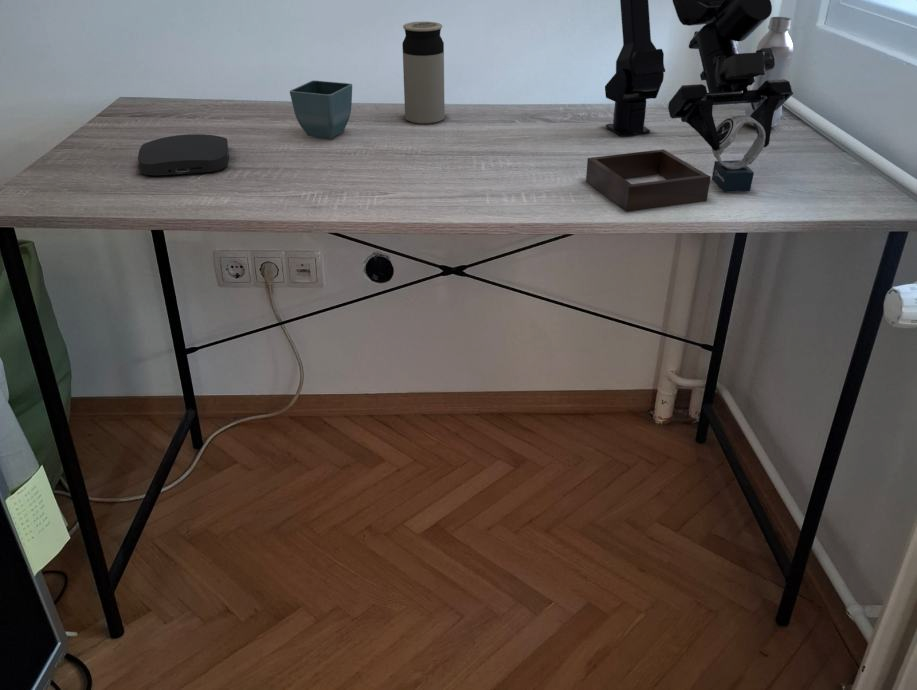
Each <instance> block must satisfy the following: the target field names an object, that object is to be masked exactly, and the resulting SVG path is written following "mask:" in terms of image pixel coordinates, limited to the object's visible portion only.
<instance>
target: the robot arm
mask: <svg viewBox="0 0 917 690" xmlns="http://www.w3.org/2000/svg"><path fill="white" fill-rule="evenodd" d="M619 2H620V3H619V4H620V5H619V6H620V16H621V17H620V18H621V30H622V47H621V49H620V52H619V54H618V56H617V58H616V61H615V73H614V75H613V76H612V77H611V78H610V79H609V80H608V82H607V83H606V85H605V86H604V91H605V92H604V93H605V94H604V95H605V98H606V99H608V100H609V101H612V102H614V109H613V111H614V112H613V119H612V123H606V124H605V128H607V129H608V130H609V131H611V132H613V133H615V134H616V135H618V136H621V137H624V136H633V135H642V134H650V133H651V129H649V128H648V127H646V126H645V119H646V113H647V109H646V108H647V100H650V99H651V100H652V99H657V97H658V95H659V92H660V89H661V87H662V84H663V81H664V79H665V78H664V77H665V73H666V68H665V63H664V57H665V56H664V55H665V53H664V50H663V48H657V47H656V46H655V45H654V43H653V42H652V36H651V34H652V33H651V20H650V5H649V4H650V3H649V0H619ZM671 2H672V5H673V7H674V10H675V13H676V16H677V18H678V21H679V22H680V23H681V24H682V25H683V26H690V27H691V26H700V25H701V26H702V25H703V26H702V27H701V28H700V30H698V31H697V30H696V31H694V33H693V36H692V38H691V39H690V41H689V43H688V48H689V49H690V50H698V53H699V56H700V62H701V66H702V72H700V74H699V77H700V80H701V81H705V83H706V85H705V84H701V83H700V84H697V83H696V84H682V85H681V86H680V87H679V89H678V90H677V91H676V92H675V93H674V95H673V96H672V97H671V99H670V100H669V101H668V106H667V109H668V113H669V117H670V118H671V119H680V120H681V122H682V123H686V124H687V125H689V126H690V127H691V129H693V130H694V131H696V132H697V134H699V136H701V137H702V139H703V140H704V141H705V142H706V143H707V144H708V145H709V147H710V148H711V150H712V149H713V150H714V151H717V150H718V149H719V148H720V146H719V138H718V134H717V131H716V128H717V127H716V124H715V119H714V115H713V109H714V106H722V105H739V104H740V105H741V104H748V103H751V106H752V109H753V110H755V111H754V112H753V113H752V114H751V115H750V116H751V118H753V119H754V120H756V121H757V122H758V123H760V124H761V125H762V126H763V128H764V130H765V135H766V138H765V145H764V147H763V148H767V147H768V146H769V145H770V140H771V133H772V132H771V131H772V127H771V126H772V119H773V115H774V111H775V110H777V109H778V108H779V107H780V106H781V105H782V106H783V104H785V102H787V101H788V100H789V99H790V98H791V97H792V95H794V91H793V86H792V83H791V82H790V81H789V80H787V79H786V78H785V79H784V80H767V81H765V82H764V83H763V84H762V85H761V86H760V87H759V88H758V89H757V90H752V89H748V87H749V86H752V85H754V82H755V79H754V78H755V77H756V76H758V75H765V71H768V70H770V69H773V68H774V66H775V56H774V54H773V51H772V48H761V49H760V50H757V51H756V50H755V52H742V53H739V50H738V49H739V48H738V44H737V42H743V41H745V40H746V39H747V38H749V36H750V35H752V34H753V33H754V32H755V31H756V30H757V29H758V28H759V27H760V26H761V25H763V23H764V22H765V21H766V20H767V19H769V17H770V16H771V14H772V12H773V5H772V1H771V0H672V1H671ZM753 124H754V126H753V127H754V129H755V132H756V134H757V135H758V134H759V131H758V127H757V125H756V124H755V123H753Z"/></svg>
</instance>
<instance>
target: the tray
mask: <svg viewBox="0 0 917 690" xmlns="http://www.w3.org/2000/svg"><path fill="white" fill-rule="evenodd" d="M586 161H587V162H586V174H585V182H586V183H587V184H588V185H590V186H591V187H593V188H594V189H595V190H596V191H598V192H599V193H600V194H601V195H603V196H604V197H606V198H607V199H608V200H609V201H611V202H612V203H614V204H615V205H616V206H617V207H619V208H620V209H622V210H623V211H624V212H625V213H630V212H637V211H645V210H651V209H653V210H654V209H661V208H667V207H675V206H681V205H689V204H695V203H705V202H707V201H708V196H709V190H710V185H711V179H712V176H711V175H709V174H707V173H706V172H704V171H702V170H700V169H698V168H697V167H695V166H693V165H692V164H690V163H688V162H686V161H684V159H681V158H680V157H678V156H676V155H674V154H672V153H671V152H669V151H668V150H666V149H654V150H647V151H637V152H636V151H635V152H627V153H619V154H611V155H602V156H593V157H587V160H586ZM650 176H660V177H661V178H663V179H661V180H654V181H653V180H652V181H645V182H638V183H637V182H636V183H631V182H629V181H628V180H627V179H635V178H642V177H650Z"/></svg>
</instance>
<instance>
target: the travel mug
mask: <svg viewBox="0 0 917 690" xmlns="http://www.w3.org/2000/svg"><path fill="white" fill-rule="evenodd" d="M402 28H403V30H404V33H405V35H404V36H405V37H404V39H403V41H402V64H403V65H402V69H403V71H402V72H403V73H402V74H403V96H404V97H403V98H404V99H403V101H404V118H405V120H406V121H408V122H410V123H413V124H419V125H430V124H436V123H439V122H441V121H443V120H444V119H445V113H446V112H445V42H444V40H443V38H442V36H441V32H442V31H441V30H442V28H443V24H441V23H440V22H436V21H412V22H411V21H410V22H408V23H404V24H403V26H402Z"/></svg>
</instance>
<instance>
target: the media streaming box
mask: <svg viewBox="0 0 917 690" xmlns="http://www.w3.org/2000/svg"><path fill="white" fill-rule="evenodd" d="M229 158H230V149H229V144H228V138H226V137H224V136H219V135H215V134H200V133H191V134H188V133H187V134H179V135H177V134H176V135H171V136H165V137H161V138H157V139H154V140H150V141H147V142H144V143H143V144H141V146H140V147H139V150H138V153H137V162H138V167H139V171H140V173H142V174H143V175H146V176H147V175H148V176H172V175H186V174H197V173H198V174H200V173H210V172H211V173H212V172H216V171H219V170H222V169H224V168H225V167H227V166H228V163H229Z"/></svg>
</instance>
